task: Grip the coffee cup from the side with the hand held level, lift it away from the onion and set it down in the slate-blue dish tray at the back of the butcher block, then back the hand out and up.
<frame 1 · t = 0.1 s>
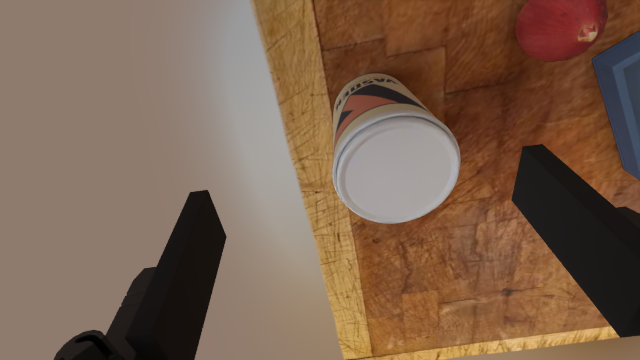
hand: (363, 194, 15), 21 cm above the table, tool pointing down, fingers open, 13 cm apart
coffee cup: (371, 110, 35), on the table
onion: (532, 14, 31), on the table
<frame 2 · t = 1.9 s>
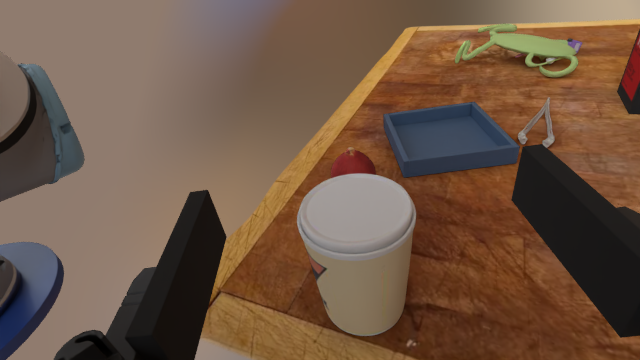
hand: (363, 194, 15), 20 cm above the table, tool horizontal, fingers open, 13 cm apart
dish tray: (442, 143, 56), on the table
coffee cup: (364, 301, 35), on the table
figurine: (514, 59, 82), on the table
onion: (355, 199, 48), on the table
tweezers: (541, 121, 57), on the table
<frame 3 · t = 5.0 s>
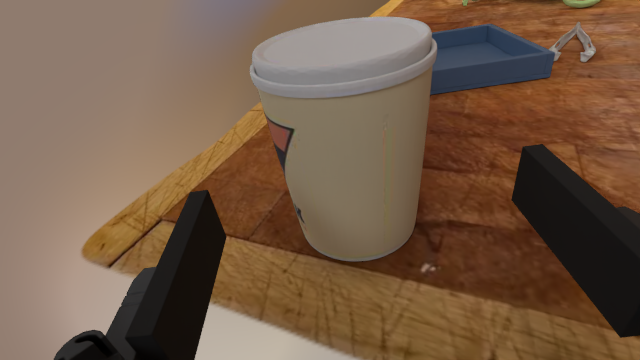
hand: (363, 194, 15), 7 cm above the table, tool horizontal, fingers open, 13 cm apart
dish tray: (454, 66, 46), on the table
coffee cup: (357, 221, 24), on the table
tweezers: (573, 42, 48), on the table
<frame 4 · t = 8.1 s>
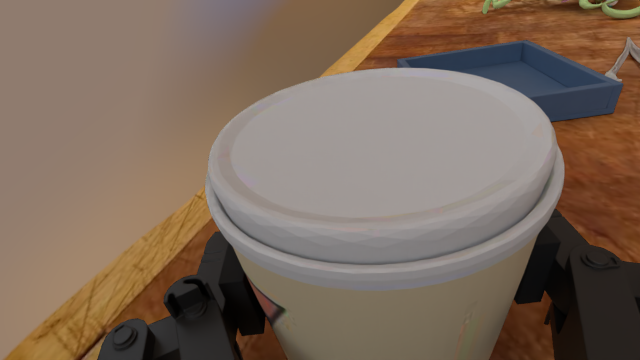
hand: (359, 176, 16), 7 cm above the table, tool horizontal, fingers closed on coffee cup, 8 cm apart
dish tray: (486, 94, 38), on the table
coffee cup: (384, 358, 16), on the table, touching gripper
figurine: (559, 6, 64), on the table
tweezers: (628, 63, 40), on the table
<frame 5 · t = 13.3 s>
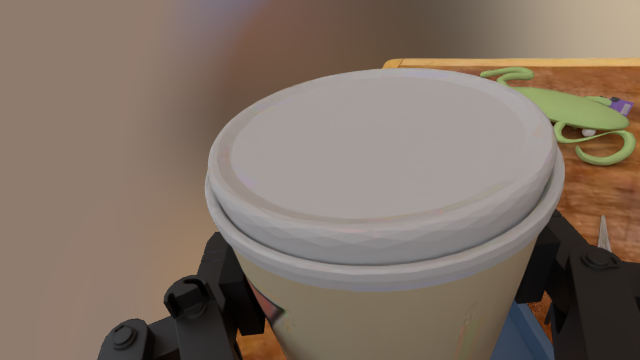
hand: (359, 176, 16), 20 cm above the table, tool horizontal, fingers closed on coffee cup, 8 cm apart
dish tray: (426, 325, 31), on the table
coffee cup: (383, 359, 16), point 13 cm above the table, touching gripper
figurine: (533, 122, 57), on the table
when the fingers open (7 cm above the table, at t = 18.5 s): coffee cup stays where it is, resting on dish tray.
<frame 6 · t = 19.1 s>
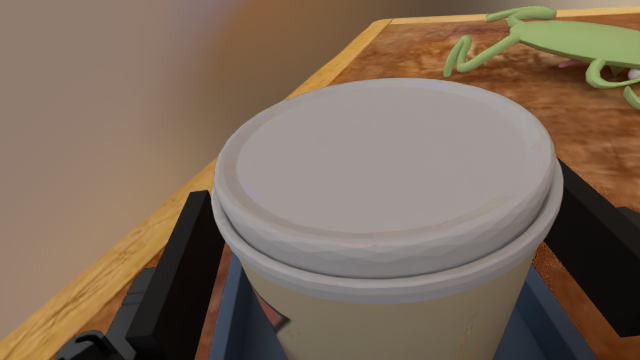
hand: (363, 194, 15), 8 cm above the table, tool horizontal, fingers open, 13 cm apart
figurine: (556, 70, 43), on the table
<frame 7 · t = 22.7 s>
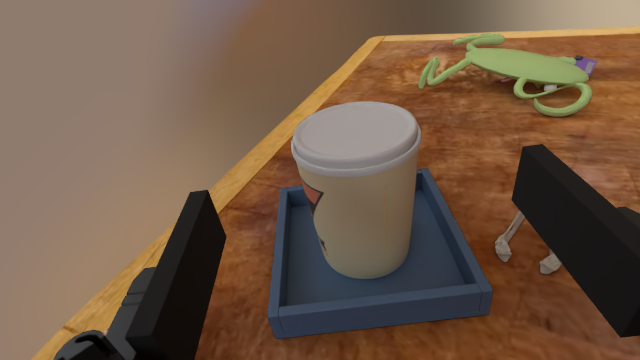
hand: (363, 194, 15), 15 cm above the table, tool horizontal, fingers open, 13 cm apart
dish tray: (365, 249, 32), on the table
coffee cup: (365, 247, 32), resting on dish tray
figurine: (500, 84, 58), on the table
tweezers: (539, 206, 34), on the table
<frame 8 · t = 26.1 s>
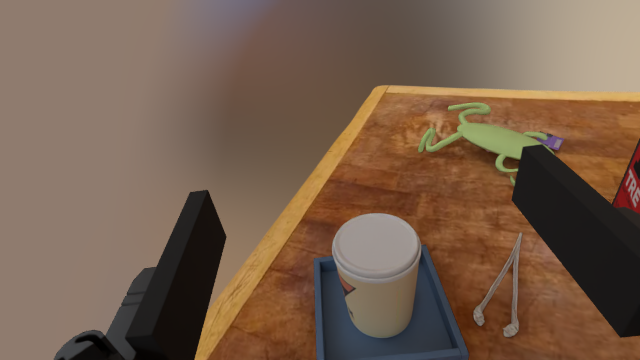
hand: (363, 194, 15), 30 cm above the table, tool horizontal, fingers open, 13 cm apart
dish tray: (380, 312, 44), on the table
coffee cup: (380, 310, 44), resting on dish tray
figurine: (486, 151, 70), on the table
tweezers: (508, 277, 46), on the table
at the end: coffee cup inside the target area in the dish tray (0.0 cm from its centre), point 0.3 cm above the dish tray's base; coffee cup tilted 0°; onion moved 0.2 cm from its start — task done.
